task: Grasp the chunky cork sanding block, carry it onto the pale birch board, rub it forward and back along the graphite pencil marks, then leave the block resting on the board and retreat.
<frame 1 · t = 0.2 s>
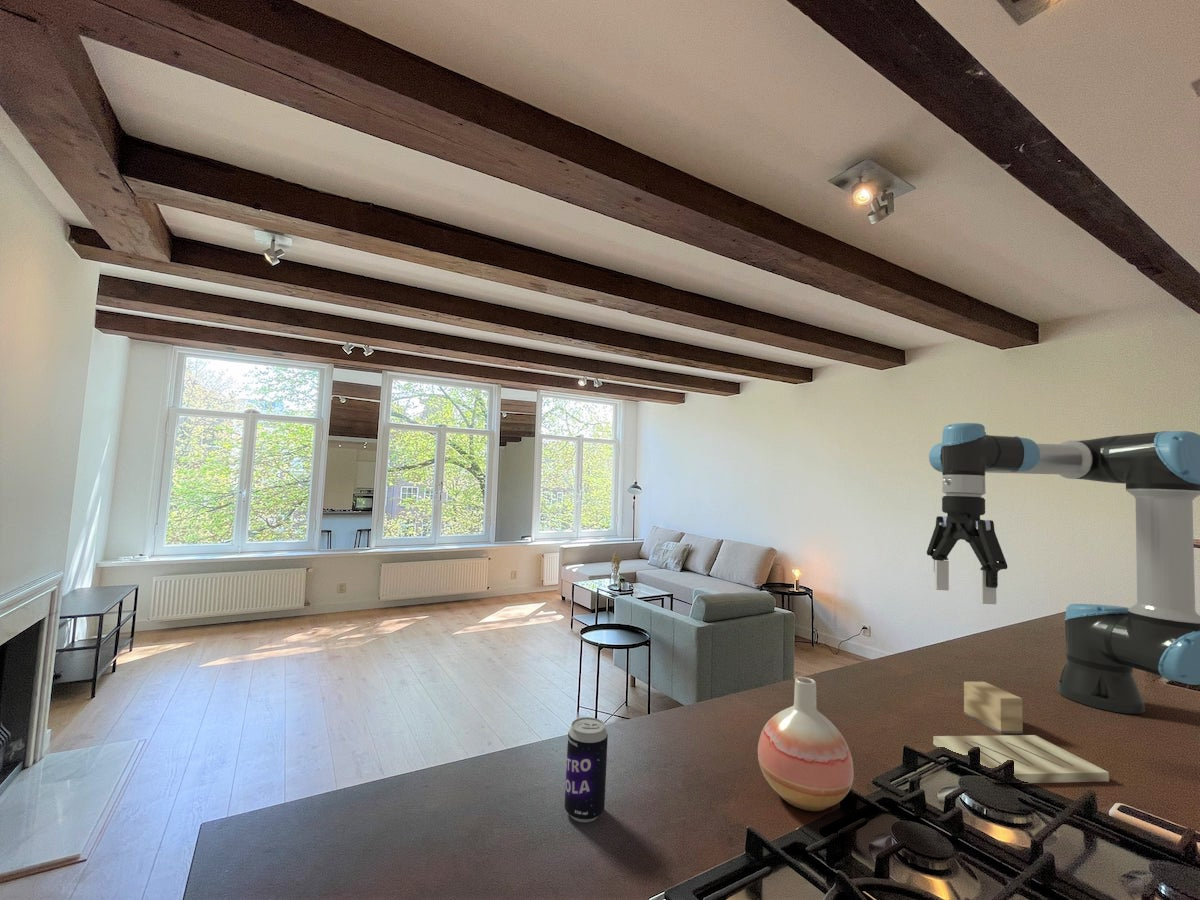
hand: (963, 596, 107), 27 cm above the table, fingers open, 13 cm apart
board: (1016, 761, 92), on the table
sanding block: (992, 723, 108), on the table
vase: (803, 799, 77), on the table
beverage can: (584, 814, 71), on the table
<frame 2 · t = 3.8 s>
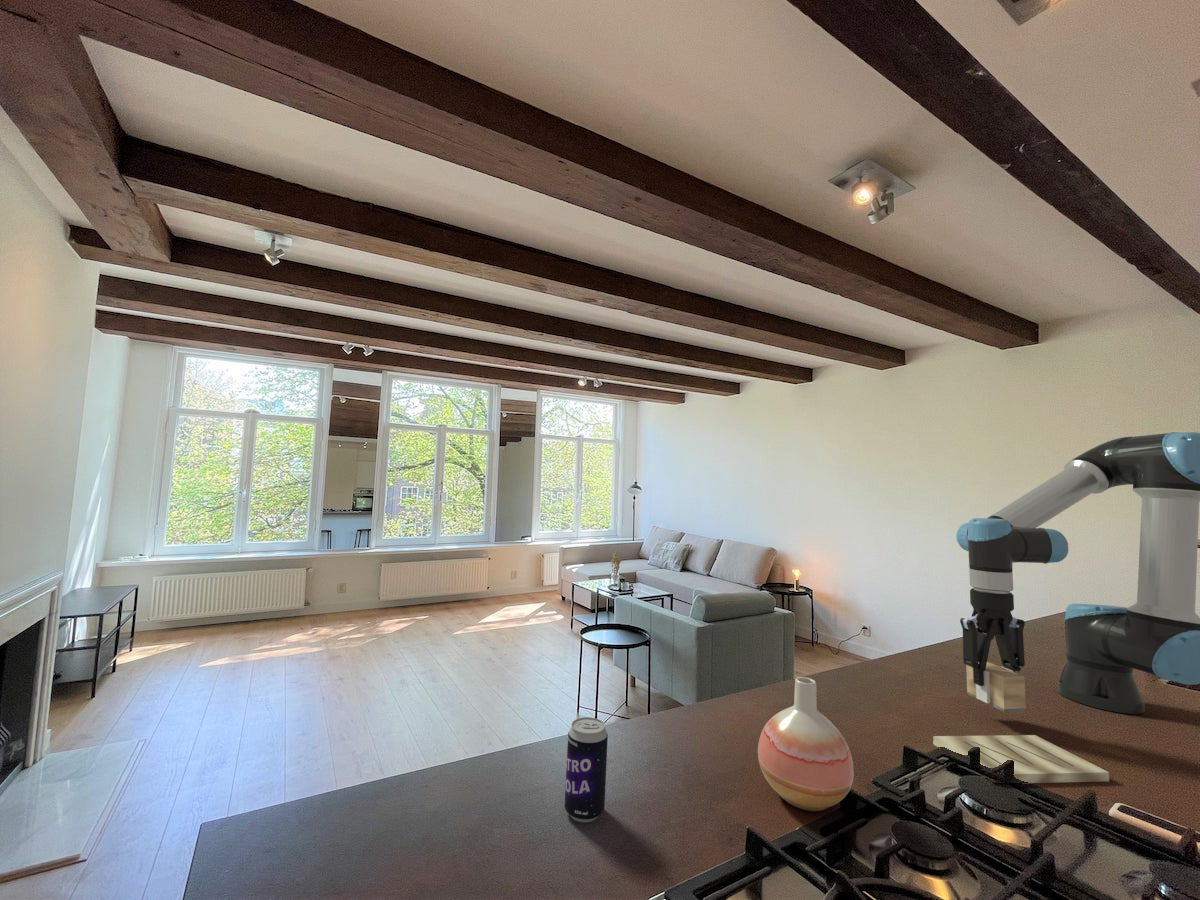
hand: (995, 700, 108), 5 cm above the table, fingers closed on sanding block, 5 cm apart
sanding block: (995, 702, 108), point 4 cm above the table, touching gripper
everything else where it was.
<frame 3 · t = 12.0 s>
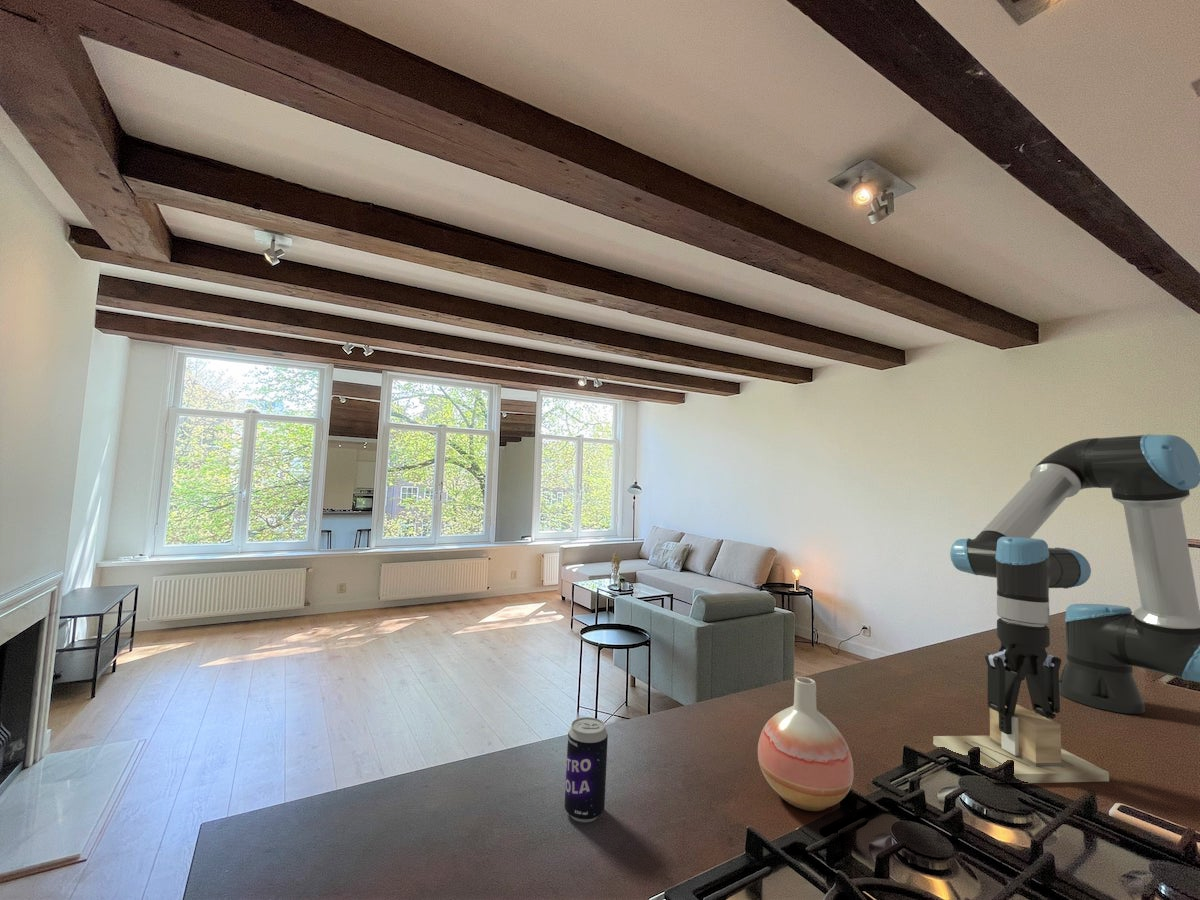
hand: (1024, 751, 92), 2 cm above the table, fingers closed on sanding block, 5 cm apart
sanding block: (1024, 752, 92), point 2 cm above the table, touching gripper
everything else where it was.
when the fingers open (2 cm above the table, at t = 15.6 s): sanding block stays where it is, resting on board.
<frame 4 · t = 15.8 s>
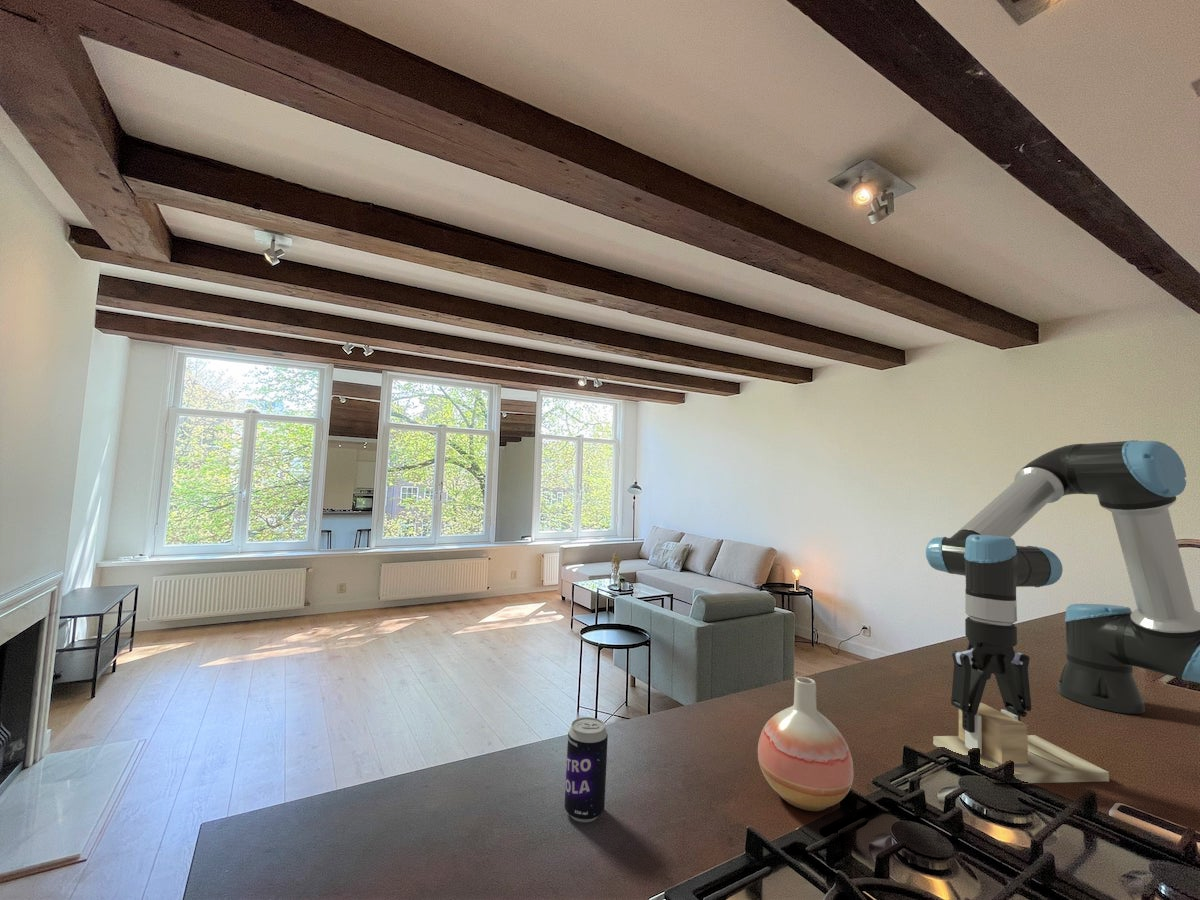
hand: (991, 749, 91), 2 cm above the table, fingers open, 7 cm apart
sanding block: (991, 753, 91), point 1 cm above the table, touching board
everything else where it was.
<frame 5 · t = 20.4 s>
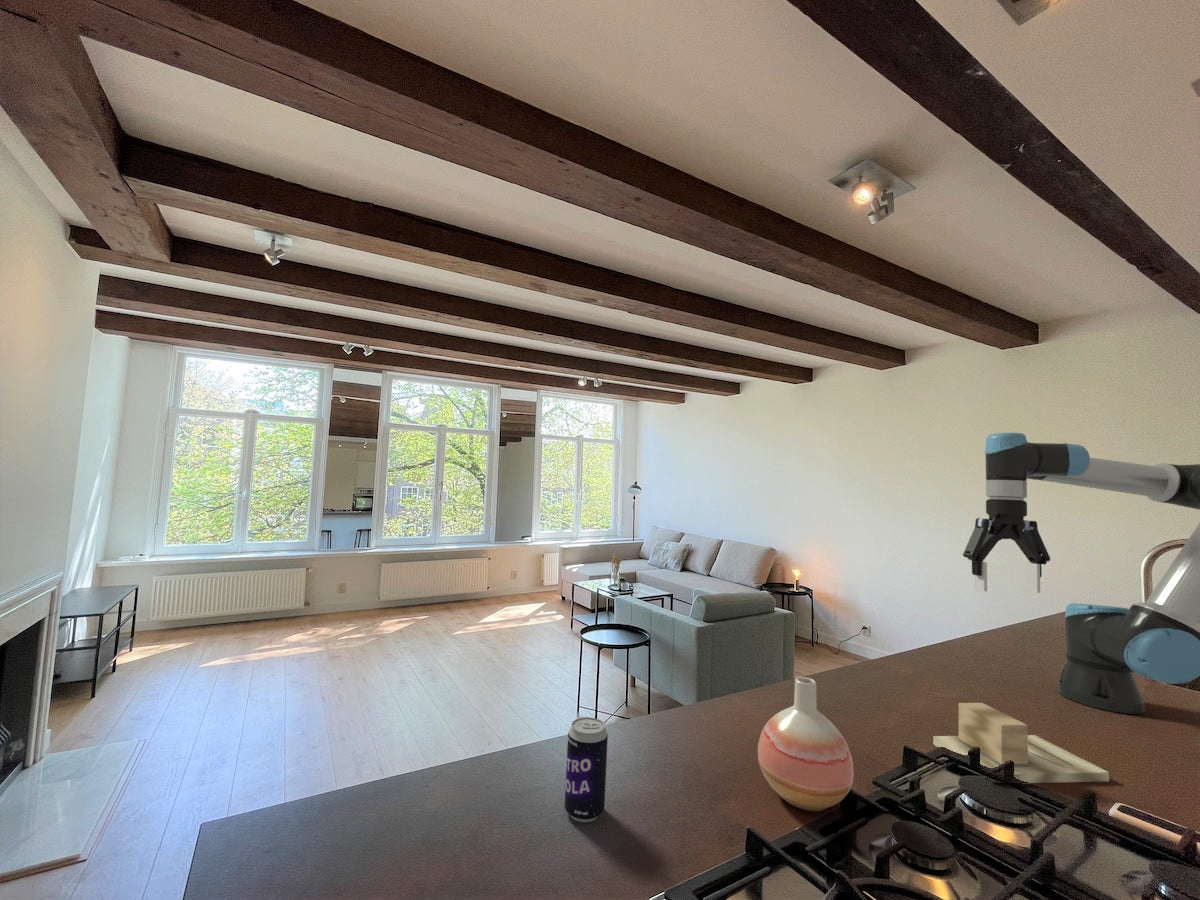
hand: (1007, 591, 117), 27 cm above the table, fingers open, 13 cm apart
nothing on the table moved.
at the end: sanding block inside the target area on the board (5.0 cm from its centre), point 1.5 cm above the board's base; sanding block tilted 0°; the gripper is holding nothing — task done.
